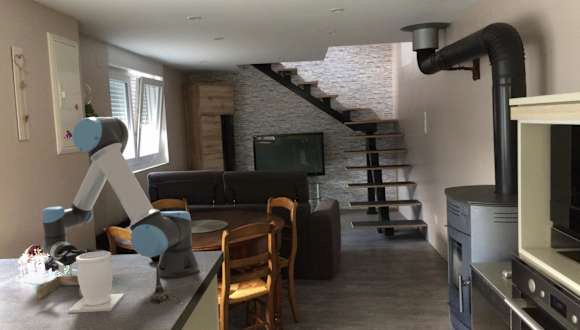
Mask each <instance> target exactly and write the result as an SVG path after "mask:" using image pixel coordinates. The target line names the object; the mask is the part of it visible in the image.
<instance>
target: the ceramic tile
mask: <svg viewBox="0 0 580 330" xmlns="http://www.w3.org/2000/svg"><path fill="white" fill-rule="evenodd" d="M110 295H111V297H112V298H111V300H110V301H108V302H106V303H104V304H100V305H93V306H89V305H85V304H84V299H85V298H84V297H80V299H79V300H78V301H76V303H74V304H73V305H72V306H71V307H70V308H69V309H68V310H67V313H68V314H70V313H71V314H72V313H73V314H74V313H94V312H111V311H112V310H113V309H114V308H115V307H116V306H117V305H118V304H119V302H121V300H123V298H124V297H125V293H110Z"/></svg>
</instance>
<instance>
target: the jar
mask: <svg viewBox="0 0 580 330" xmlns="http://www.w3.org/2000/svg"><path fill="white" fill-rule="evenodd" d="M111 257H112V253H111V252H110V251H107V250H106V251H96V252H89V253H85V254H82V255H79V256H77V257H76V262H77V263H78V264H77V270H76V271H77V273H76V276H77V277H78V282H79V285H78V286H79V288H80V290H81V293H82V295H83V296H84V298H85V299H84V304H85V305H89V306H93V305H100V304H104V303H106V302H108V301H110V300H111V298H112V297H111V295H110V294H111V292H112V288H113V279H114V278H113V277H114V270H113V264H112V261H111Z"/></svg>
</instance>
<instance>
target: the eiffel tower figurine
mask: <svg viewBox="0 0 580 330" xmlns="http://www.w3.org/2000/svg"><path fill="white" fill-rule="evenodd" d="M155 267H156V278H155V279H156V280H155V282H156V284H155V288H154V292H153V293H152V294H150V295H144V296H140V298H141V299H144V298H148V297H150V298H151V299H150V300H149V302H148V304H150V305H151V304H154V305H164V304H166V303H167V302H168V301H170V300H176V301H177V300H178V301H177V303H176V305H178V306H179V305H184V302H183V301H182V300H181V299H179V298H178V297H177V296H176V295H175V294H173V293H171V292H166V290H164V287H163V284H162V283H161V282H162V281H161V278H160V277H161V276H159V270H158V264H156V265H155Z"/></svg>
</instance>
